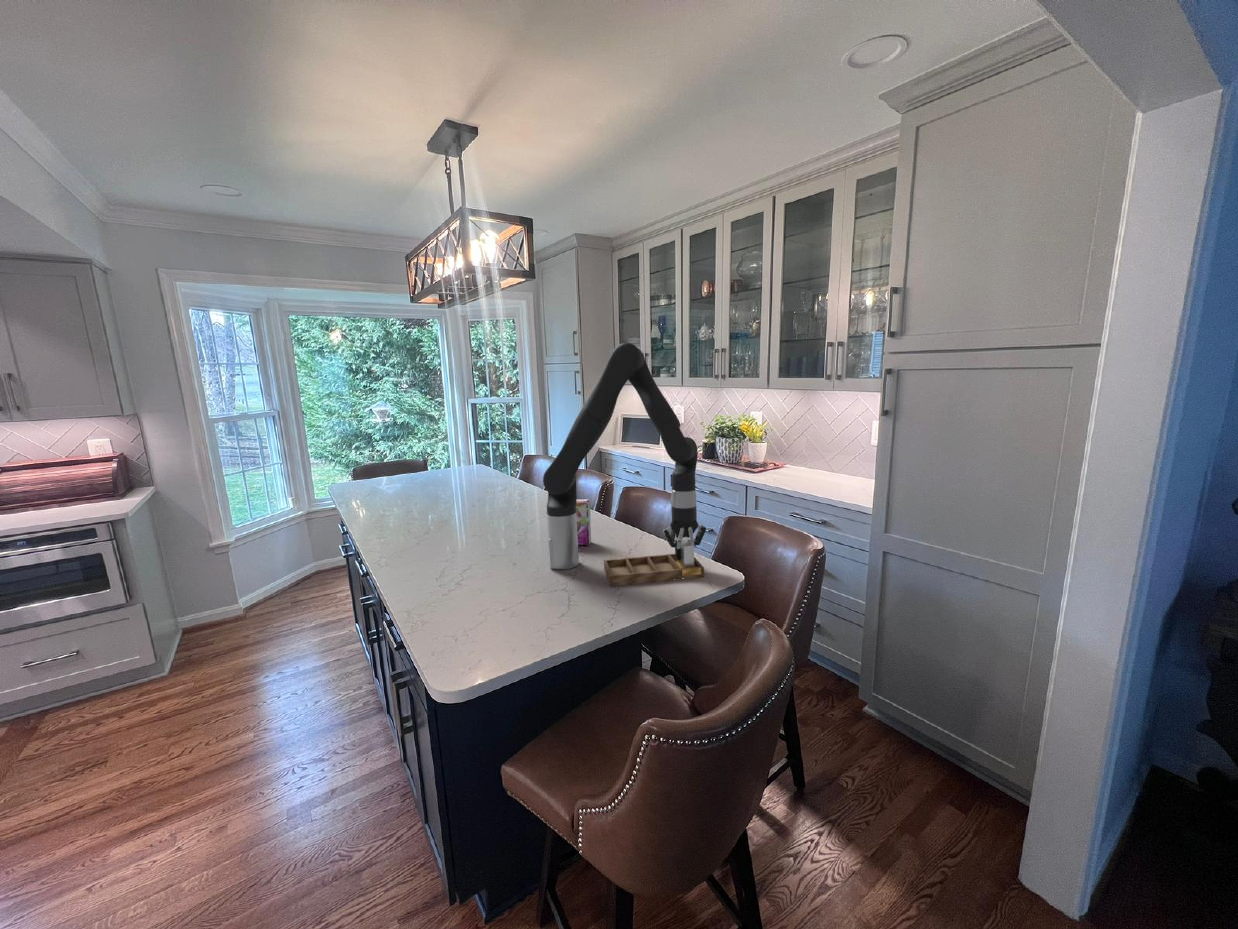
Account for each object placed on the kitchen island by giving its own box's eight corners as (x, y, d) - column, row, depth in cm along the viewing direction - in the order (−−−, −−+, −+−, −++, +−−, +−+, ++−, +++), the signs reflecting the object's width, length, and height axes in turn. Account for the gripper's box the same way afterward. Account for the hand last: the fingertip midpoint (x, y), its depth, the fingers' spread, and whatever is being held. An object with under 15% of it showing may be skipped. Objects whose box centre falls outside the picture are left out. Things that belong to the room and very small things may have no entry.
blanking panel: (684, 569, 147) (684, 546, 146) (675, 557, 157) (675, 536, 156) (694, 568, 148) (693, 545, 146) (684, 556, 157) (684, 535, 156)
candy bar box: (559, 546, 179) (556, 502, 176) (562, 542, 184) (559, 499, 181) (589, 546, 178) (587, 501, 175) (591, 542, 183) (589, 498, 180)
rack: (610, 586, 142) (609, 576, 141) (604, 569, 155) (603, 560, 155) (704, 577, 146) (704, 567, 145) (690, 561, 160) (690, 552, 159)
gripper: (664, 508, 144) (665, 565, 147) (710, 505, 146) (710, 561, 149) (658, 502, 152) (659, 557, 154) (702, 499, 154) (702, 553, 156)
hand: (684, 558), depth 152 cm, fingers closed on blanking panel, 3 cm apart
